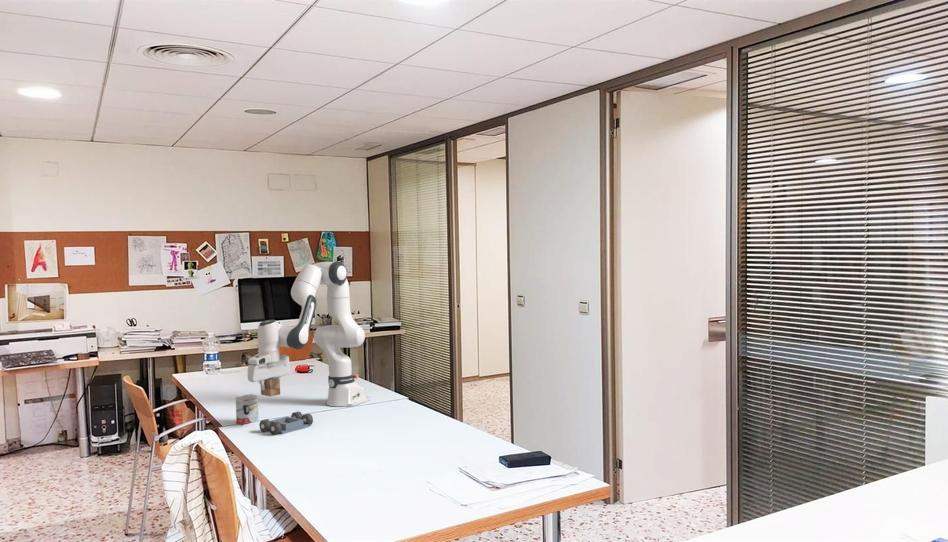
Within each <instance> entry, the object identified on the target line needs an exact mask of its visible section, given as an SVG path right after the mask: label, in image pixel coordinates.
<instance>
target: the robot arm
mask: <svg viewBox="0 0 948 542" xmlns="http://www.w3.org/2000/svg"><path fill="white" fill-rule="evenodd" d="M347 277H348V269H347V267H346V266H345V264H344V263H342V262H341V261H321V262H312V263H310V264H305V265H304V266H303V267H302V269H301V270H300V272H299V273H298V274H297V276H296V278H295V280H294V282H293V284H292V287H291V289H290V296H291V298H292V300H293V301H294V302H295V303H297V304H298V305H299V306H301V312H300V315H299V318H298V322H297V323H296V324H295V325H284V324H281V323H279V322H278V321H277V320H276V319H266V320H262V321H261V322H259V324H258V327H257V343H258V350H257V352H258V353H257V354H255V355H254V356H251V357H250V358H248V360H247V362H248V366H247V380H248V382H250V383H256V382H258V384H259V385H260V390H261V389H262V390H267V386H265V385H264V380H266V379H269V378H272V377H276V378H280V381H281V380H282V377H284V376H289V375H290V374H291V371H292V370H291V364H290V357H289V355H287V354H285V353H284V354H280V348H281V347H282V348H290V349H295V350H302V349H303V348H304V347H306V345H307V344H308V342H309V340H310V331H311V327H312V323H313V320H314V317H315V312H316V310H317V309H316V308H317V304H318V302H317V299H316V293H317V292H318V289H319V286H320V285H324V286H325V285H326V288H327V289H326V290H327V291H326V304H327V305H326V306H327V309H326V310H327V314H328V315H329V316H330V317H331V318H332V319H335V320H336V322H337V323H338V325H337V324H335V325H331V324H328V325H322V326H318V327H317V328H316V330H315V331H314V333H313V340H314V342H315V345H317V346H318V347H319V348H321V350H322V351H323V352H324V353H325V355H326V358H327V363H328V378H327V379H328V380H327V381H328V394H327V395H328V396H327V400H326V405H327V406H330V407H348V406H349V407H351V406H353V407H354V406H358V405H360V404H362V403H363V404H364V403H366V402H368V401H370V400H371V397H370V396H367V395H366V391H365V387H363V386H362V385H360V384H359V382H356V381H355V379H356V380H357V379H359V375H358V374H352V372H353V369H352V359H351V358H350V357H349V355H347V354H345V353H343V352H342V349H341V348H351V349H352V348H356V347H360V346H362V345H363V343H365V339H366V334H365V333H366V332H365V330H364V328H362V326H360V325H359V324H358V323H357V322H356V321H355V320H354V317H353V315H352V310H351V296H350V295H351V294H350V286H349V282H348V281H349V280H348V278H347Z"/></svg>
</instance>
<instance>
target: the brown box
mask: <svg viewBox="0 0 948 542" xmlns="http://www.w3.org/2000/svg"><path fill="white" fill-rule="evenodd" d="M264 385H265V386H267V390H262V389H261V388H260V395H261V396H265V397H269V398H270V397H275V396H279V395H281V380H280V378H276V377H272V378H269V379H266V380H264Z"/></svg>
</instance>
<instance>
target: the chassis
mask: <svg viewBox="0 0 948 542" xmlns="http://www.w3.org/2000/svg"><path fill="white" fill-rule="evenodd" d="M313 422H314V418H313V415H312V414H311V413H310V412H309V413H305V414H302V412H301V411H299V410H298V411H294V412H292V413H291V415H290V416H283V417H280V418H276V419H271V420H270V419H262V420H260V422H259V431H261V432H262V433H267V432H270V433H271V435H272V436H274V435H275V436H276V435H278V434H280V435H285V434H288V433H291V432H295V431H299V430H303V429H305V428H309V426H310V425H311V426H312V424H313Z"/></svg>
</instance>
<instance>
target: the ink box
mask: <svg viewBox="0 0 948 542" xmlns="http://www.w3.org/2000/svg"><path fill="white" fill-rule="evenodd" d="M235 414H236V415H235V417H236V422H235V424H238V425H242V426H243V425H244V426H245V425H248V424H252V423H256V422H259V395H256V394H253V393H251V394H250V393H249V394H246V395H245V394H244V395H240V396H236V397H235Z"/></svg>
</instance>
